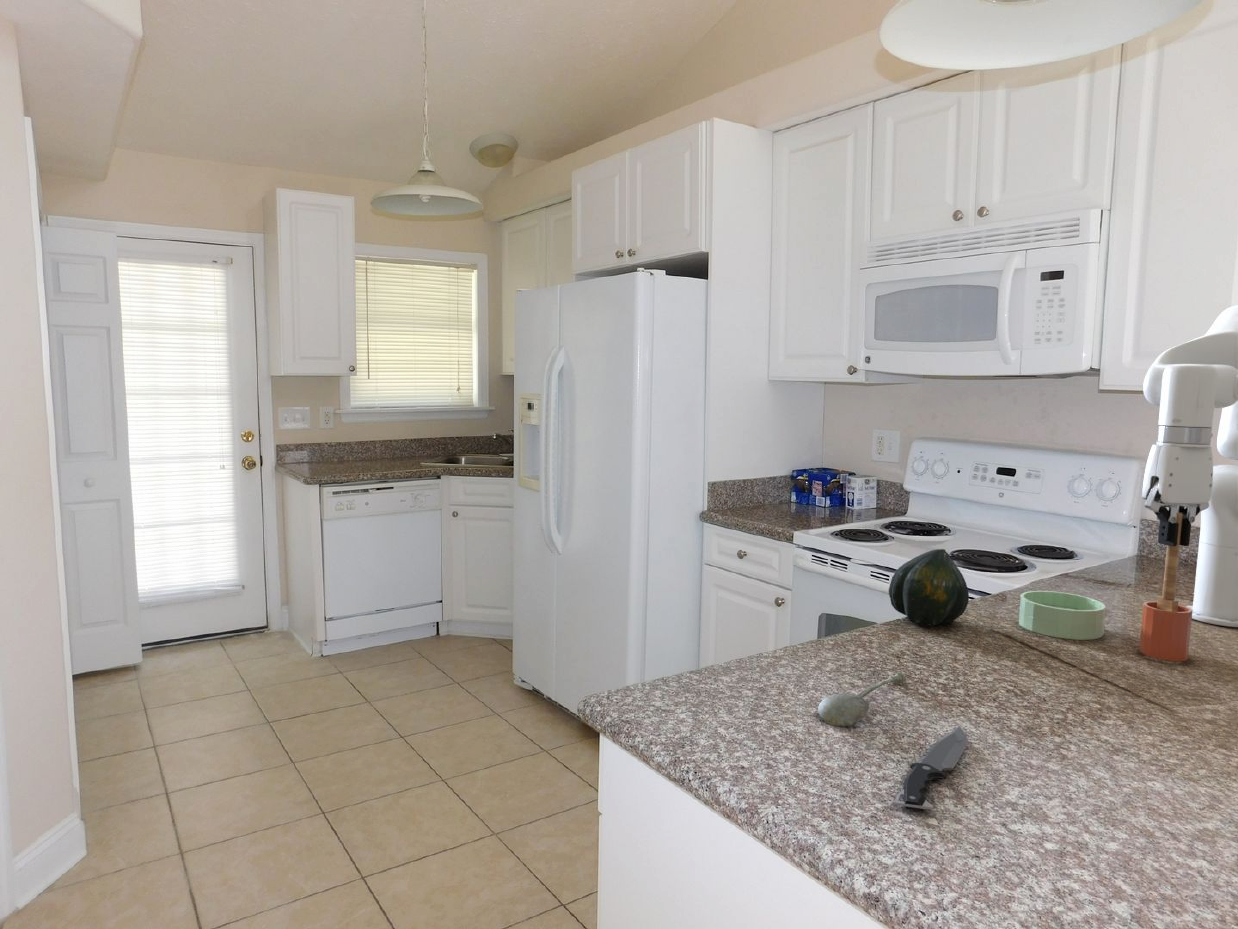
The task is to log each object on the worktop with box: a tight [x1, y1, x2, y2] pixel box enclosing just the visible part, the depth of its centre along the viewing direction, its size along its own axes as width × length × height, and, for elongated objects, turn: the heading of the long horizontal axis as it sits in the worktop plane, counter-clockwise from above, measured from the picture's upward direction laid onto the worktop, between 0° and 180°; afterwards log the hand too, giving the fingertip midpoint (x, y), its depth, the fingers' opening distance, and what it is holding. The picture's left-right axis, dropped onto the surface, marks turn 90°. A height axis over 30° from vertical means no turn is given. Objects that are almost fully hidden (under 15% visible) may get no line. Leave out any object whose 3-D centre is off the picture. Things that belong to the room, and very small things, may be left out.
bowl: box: [1017, 590, 1107, 641], centre depth 154 cm, size 14×14×6 cm
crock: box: [1138, 600, 1193, 662], centre depth 140 cm, size 7×7×9 cm
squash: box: [888, 548, 970, 626], centre depth 159 cm, size 14×15×15 cm
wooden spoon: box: [1156, 512, 1183, 612], centre depth 139 cm, size 3×2×18 cm, turn 12°
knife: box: [894, 725, 968, 811], centre depth 98 cm, size 26×1×5 cm
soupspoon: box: [817, 672, 906, 727], centre depth 117 cm, size 22×3×7 cm
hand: (1173, 544), depth 139 cm, fingers closed on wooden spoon, 1 cm apart
